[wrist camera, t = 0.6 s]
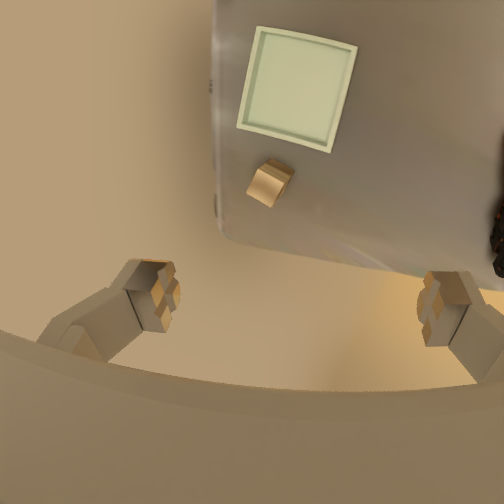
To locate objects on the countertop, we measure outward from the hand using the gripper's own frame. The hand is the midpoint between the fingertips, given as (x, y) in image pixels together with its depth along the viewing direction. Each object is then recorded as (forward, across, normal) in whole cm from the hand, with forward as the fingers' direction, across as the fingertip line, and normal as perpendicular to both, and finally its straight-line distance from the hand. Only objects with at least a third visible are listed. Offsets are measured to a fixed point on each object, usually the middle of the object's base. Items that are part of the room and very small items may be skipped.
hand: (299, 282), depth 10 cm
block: (+45, +5, +14) cm, 47 cm away
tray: (+46, +1, -1) cm, 46 cm away
